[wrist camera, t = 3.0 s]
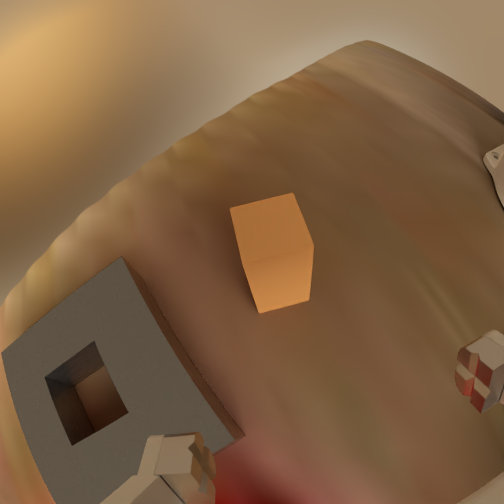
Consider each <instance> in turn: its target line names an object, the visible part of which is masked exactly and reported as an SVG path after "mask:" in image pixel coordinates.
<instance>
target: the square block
mask: <svg viewBox="0 0 504 504" xmlns="http://www.w3.org/2000/svg"><path fill="white" fill-rule="evenodd" d="M230 212H231V217H232V221H233V225H234V230H235V234H236V239H237V243H238V247H239V252H240V256H241V260H242V265H243V268H244V271H245V274H246V277H247V280H248V283H249V286H250V289H251V292H252V294H253V297H254V300H255V303H256V306H257V309H258V312H259V313H263V312H267V311H270V310H274V309H278V308H282V307H286V306H290V305H293V304H297V303H301V302H304V301H308V300H309V296H310V286H311V276H312V265H313V254H314V244H313V241H312V239H311V236H310V233H309V231H308V228H307V226H306V223H305V221H304V218H303V216H302V213H301V211H300V208H299V206H298V203H297V201H296V199H295V196H294V194H293V193H289V194H285V195H280V196H276V197H272V198H268V199H264V200H260V201H256V202H252V203H248V204H244V205H240V206H236V207H232V208H230Z"/></svg>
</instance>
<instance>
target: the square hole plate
mask: <svg viewBox="0 0 504 504" xmlns="http://www.w3.org/2000/svg"><path fill="white" fill-rule="evenodd" d="M1 354H2V359H3V364H4V368H5V373H6V377H7V381H8V385H9V388H10V392H11V396H12V399H13V403H14V406H15V409H16V412H17V415H18V418H19V421H20V424H21V427H22V430H23V433H24V435H25V438H26V441H27V443H28V446H29V448H30V451H31V453H32V456H33V458H34V460H35V462H36V465H37V467H38V469H39V471H40V473H41V476H42V478H43V480H44V482H45V484H46V486H47V488H48V490H49V492H50V493H51V495H52V497H53V499H54V501H55V503H56V504H100V503H101V502H102V501H103V500H105V499H106V498H107V497H108V496H109V495H111V494H112V493H113V492H114V491H115V490H117V489H118V488H119V487H120V486H121V485H122V484H123V483H125V482H126V481H127V480H128V479H129V478H130V477H131V476H133V475H137V474H138V470H139V467H140V463H141V459H142V456H143V452H144V449H145V445H146V442H147V439H148V438H149V437H150V436H151V435H166V434H179V433H191V432H200V434H201V435H202V437H203V439H204V446H205V447H207V448H209V449H210V451H211V453H212V455H213V456H214V455H215V454H217V453H219V452H220V451H222V450H223V449H225V448H227V447H228V446H230V445H232V444H233V443H235V442H236V441H238V440H239V439H241V438H243V437H244V436H245V435H244V433H243V432H242V431H241V429H240V428H239V427H238V426H237V424H236V423H235V422H234V420H233V419H232V418H231V416H230V415H229V414H228V412H227V411H226V410H225V408H224V407H223V406H222V404H221V403H220V401H219V400H218V399H217V397H216V396H215V394H214V393H213V392H212V390H211V389H210V387H209V386H208V384H207V383H206V382H205V380H204V379H203V377H202V376H201V374H200V373H199V371H198V370H197V368H196V367H195V365H194V364H193V362H192V361H191V359H190V358H189V356H188V355H187V353H186V351H185V350H184V348H183V347H182V345H181V344H180V342H179V340H178V339H177V337H176V336H175V334H174V332H173V331H172V329H171V328H170V326H169V324H168V323H167V321H166V319H165V318H164V316H163V314H162V313H161V311H160V309H159V307H158V306H157V304H156V302H155V300H154V299H153V297H152V295H151V293H150V292H149V290H148V288H147V286H146V284H145V283H144V281H143V279H142V278H141V277H140V276H139V275H138V274H137V272H136V271H135V270H134V269H133V268H132V267H131V266H130V265H129V264H128V263H127V262H126V261H125V260H124V258H123V257H122V256H121V257H120V258H118V259H117V260H116V261H114V262H113V263H112V264H110V265H109V266H108V267H106V268H105V269H103V270H102V271H101V272H99V273H98V274H97V275H95V276H94V277H93V278H92V279H90V280H89V281H88V282H86V283H85V284H84V285H82V286H81V287H80V288H78V289H77V290H76V291H75V292H73V293H72V294H71V295H70V296H68V297H67V298H66V299H64V300H63V301H62V302H61V303H59V304H58V305H57V306H56V307H54V308H53V309H52V310H51V311H50V312H48V313H47V314H46V315H45V316H43V317H42V318H41V319H40V320H39V321H37V322H36V323H35V324H34V325H33V326H32V327H30V328H29V329H28V330H27V331H26V332H24V333H23V334H22V335H21V336H20V337H19V338H18V339H16V340H15V341H14V342H13V343H12V344H11V345H10V346H8V347H7V348H6V349H5V350H4V351H3V352H2V353H1ZM104 365H105V366H106V369H107V371H108V373H109V375H110V377H111V379H112V381H113V383H114V385H115V387H116V389H117V391H118V393H119V395H120V397H121V399H122V401H123V403H124V405H125V407H126V408H127V410H128V412H129V413H127V414H126V415H124V416H123V417H121V418H119V419H118V420H116V421H114V422H113V423H111V424H109V425H108V426H106V427H104V428H103V429H101V430H99V431H97V432H96V433H95V432H94V430H93V428H92V426H91V424H90V422H89V419H88V417H87V415H86V413H85V411H84V409H83V406H82V404H81V402H80V400H79V397H78V395H77V392H76V390H75V388H74V386H75V385H76V384H77V383H79V382H80V381H82V380H83V379H85V378H86V377H88V376H89V375H91V374H92V373H93V372H95V371H96V370H98V369H99V368H101V367H102V366H104Z"/></svg>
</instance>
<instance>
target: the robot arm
mask: <svg viewBox="0 0 504 504" xmlns="http://www.w3.org/2000/svg"><path fill="white" fill-rule="evenodd" d="M483 161H484V164H485V165H486V167H487V169H488V170H489V172H490V173H491V175H492V177H493V180H494V183H495V187H496V191H497V194H498V196H499V199H500V201H501V203H502V205H503V207H504V144H502V145H501V146H499V147H497V148H495V149H493V150H491V151H489V152H487V153H486V155H485V156H484V158H483ZM457 360H458V361H459V362H460V363H459V365H458V367H457V368H456V370H455V382H456V386H457V388H458V389H459V391H460V392H461V393H462V394H463V395H466V396H470V403H471V404H472V405H473V406H474V407H475V408H476V409H477V410H478V411H479V412H480V413H483V412H484V411H486V410H487V409H489V408H490V407H492V406H493V405H495V404H496V403H498V402H499V401H500V402H499V403H501V404H504V335H503V334H501V333H500V332H498V331H497V330H491V331H489V332H488V333H486V334H485V335H483V336H482V337H480V338H478V339H476V340H475V341H473V342H471V343H469V344H468V345H466V346H464V347H462V348H460V350H459V352H458V356H457ZM215 476H216V467H215V461H214V458H213V455H212V453H211V451H210V449H209V448H207V447H205V446H204V439H203V437H202V435H201V434H200V432H191V433H179V434H166V435H151V436H150V437H149V438H148V439H147V442H146V445H145V449H144V452H143V456H142V459H141V463H140V467H139V470H138V474H137V475H133V476H131V477H130V478H129V479H128V480H127V481H126V482H125V483H123V484H122V485H121V486H120V487H119V488H118V489H117V490H115V491H114V492H113V493H112V494H111V495H109V496H108V497H107V498H106V499H105V500H103V501H102V502H101V503H100V504H215V486H214V485H213V483H212V482H211V481H212V479H213V478H214V477H215ZM456 504H504V471H503V472H502V473H500V474H499V475H498V476H496V477H495V478H494V479H492V480H491V481H490V482H488V483H487V484H485V485H484V486H483V487H481V488H480V489H478V490H477V491H475V492H474V493H472V494H471V495H469V496H468V497H466V498H464V499H463V500H461V501H460V502H458V503H456Z"/></svg>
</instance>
